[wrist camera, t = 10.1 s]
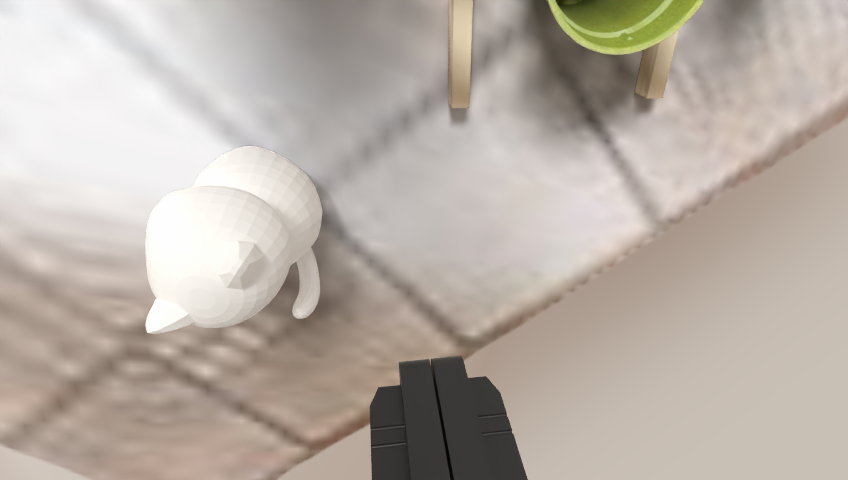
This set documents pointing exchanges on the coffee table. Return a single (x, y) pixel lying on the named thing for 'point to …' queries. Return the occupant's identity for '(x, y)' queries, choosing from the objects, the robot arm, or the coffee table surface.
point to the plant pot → (621, 22)
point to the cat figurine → (232, 242)
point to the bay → (459, 65)
